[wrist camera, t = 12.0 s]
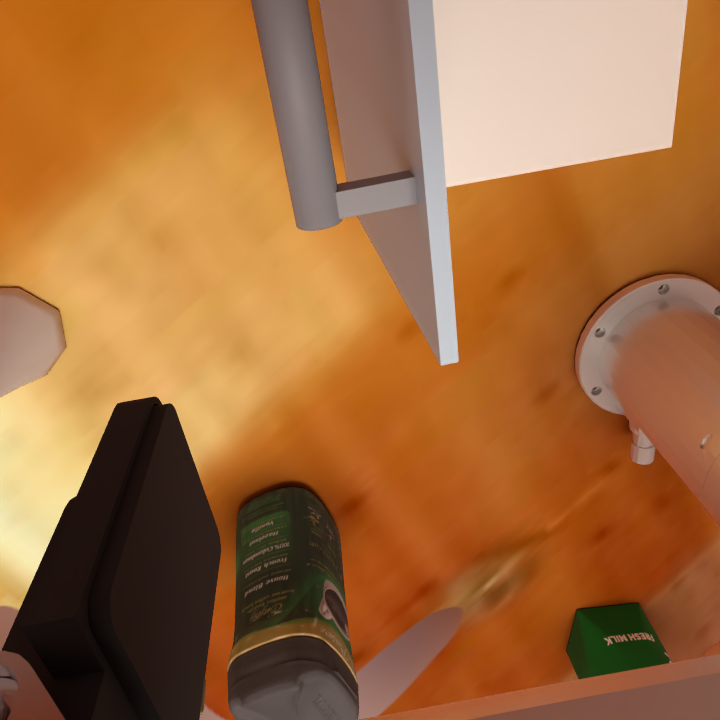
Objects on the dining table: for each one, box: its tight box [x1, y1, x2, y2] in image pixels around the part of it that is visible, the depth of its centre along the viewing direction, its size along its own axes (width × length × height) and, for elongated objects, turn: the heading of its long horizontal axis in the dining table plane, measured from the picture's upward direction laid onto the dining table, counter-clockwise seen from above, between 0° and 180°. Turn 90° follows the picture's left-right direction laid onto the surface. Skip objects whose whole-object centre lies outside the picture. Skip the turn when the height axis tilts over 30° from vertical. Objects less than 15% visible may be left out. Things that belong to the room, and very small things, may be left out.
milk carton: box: [566, 603, 672, 679], centre depth 62 cm, size 9×9×20 cm
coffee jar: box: [227, 487, 359, 720], centre depth 50 cm, size 10×8×19 cm
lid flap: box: [251, 0, 459, 366], centre depth 23 cm, size 20×18×4 cm
